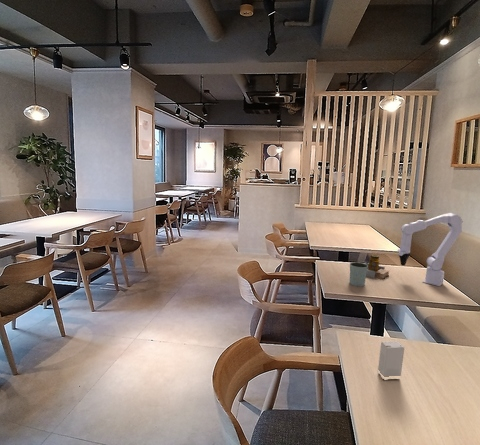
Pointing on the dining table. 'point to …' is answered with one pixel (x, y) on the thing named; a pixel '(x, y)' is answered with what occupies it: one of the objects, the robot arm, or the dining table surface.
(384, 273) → the tan rectangular block
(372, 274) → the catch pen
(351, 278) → the green tapered cup
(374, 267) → the condiment
